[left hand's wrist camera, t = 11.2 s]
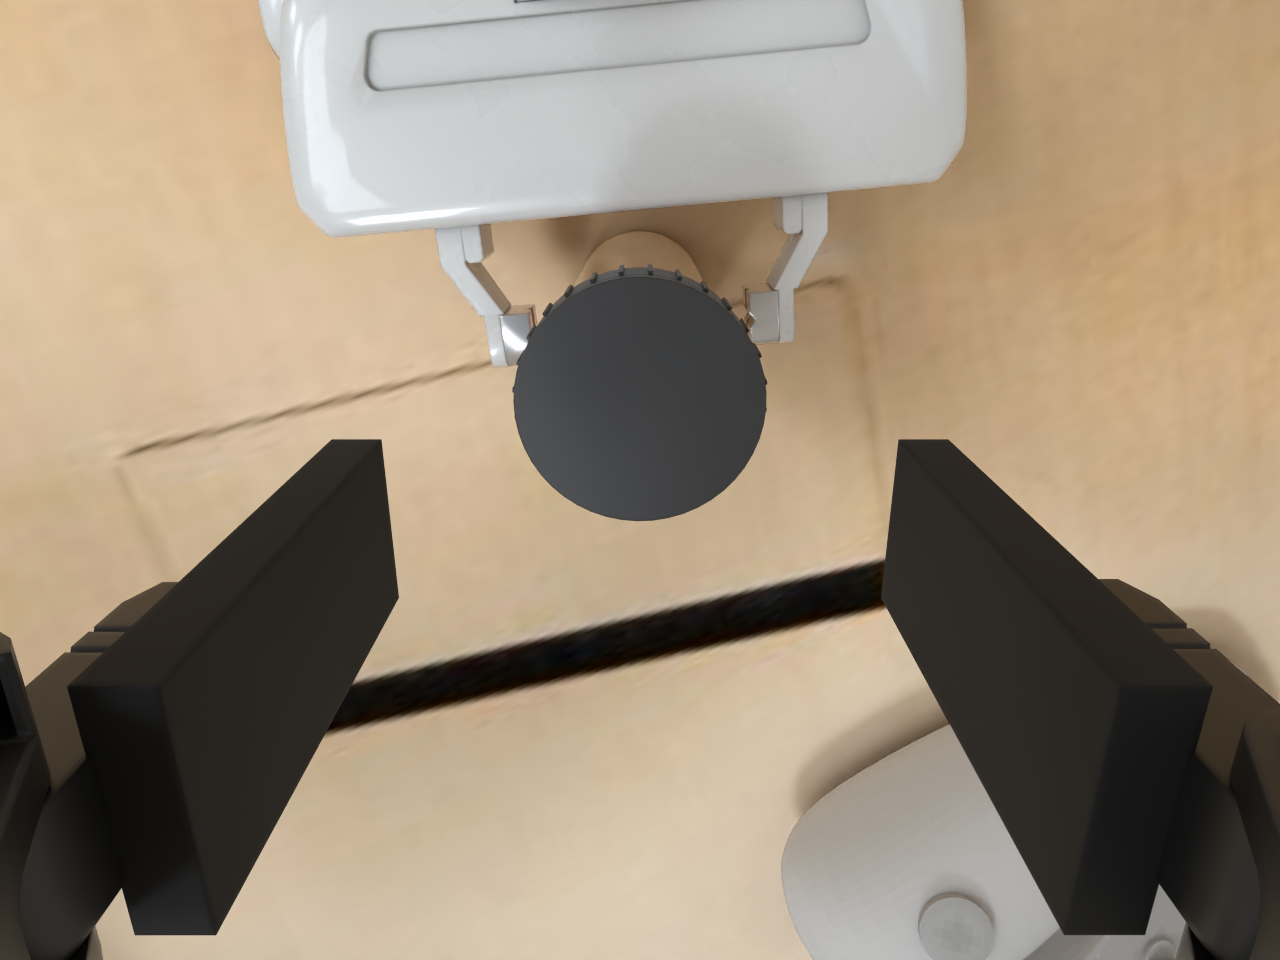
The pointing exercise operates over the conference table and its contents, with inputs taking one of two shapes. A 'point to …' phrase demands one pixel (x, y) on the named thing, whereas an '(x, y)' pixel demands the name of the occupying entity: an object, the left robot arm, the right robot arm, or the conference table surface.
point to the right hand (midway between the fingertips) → (642, 351)
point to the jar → (639, 255)
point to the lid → (640, 394)
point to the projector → (932, 873)
